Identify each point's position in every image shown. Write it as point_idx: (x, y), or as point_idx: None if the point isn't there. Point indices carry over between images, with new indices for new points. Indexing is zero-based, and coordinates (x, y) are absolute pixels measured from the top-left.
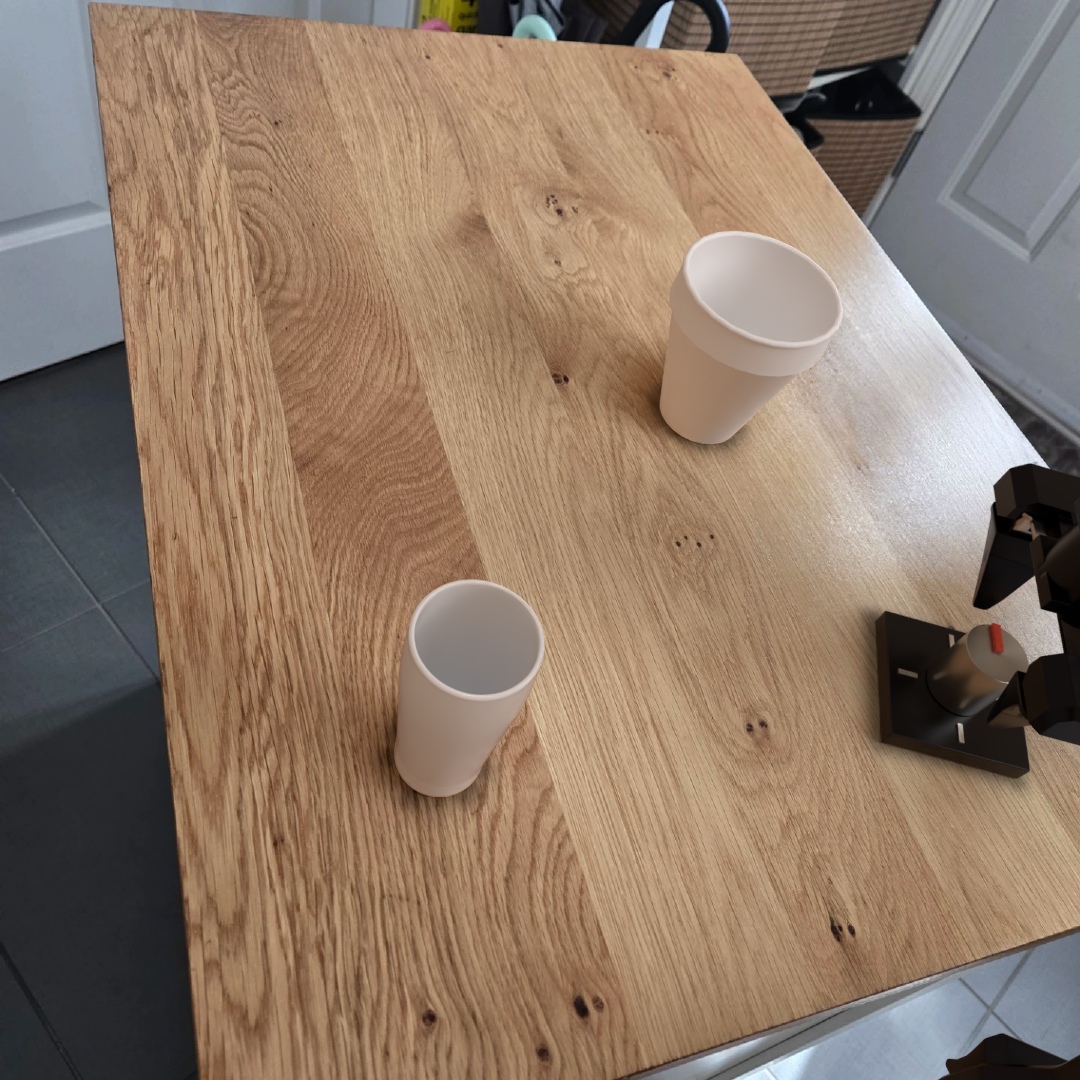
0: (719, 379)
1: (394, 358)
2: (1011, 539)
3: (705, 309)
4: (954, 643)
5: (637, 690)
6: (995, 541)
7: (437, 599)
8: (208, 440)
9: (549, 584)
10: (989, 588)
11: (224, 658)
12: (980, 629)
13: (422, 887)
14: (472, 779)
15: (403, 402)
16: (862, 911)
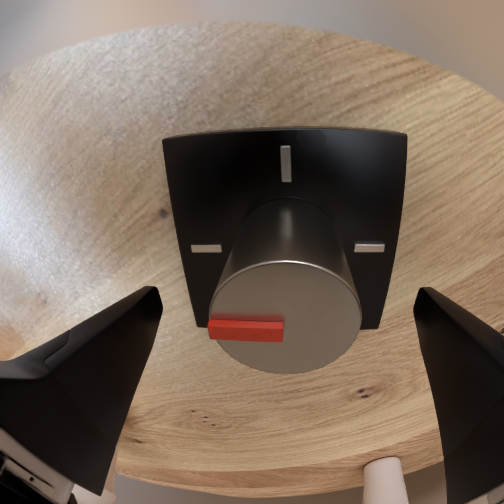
0: (112, 475)
1: (181, 472)
2: (84, 479)
3: None
4: (203, 241)
5: (341, 435)
6: (104, 476)
7: None
8: (256, 493)
9: (279, 458)
10: (138, 354)
11: (343, 486)
12: (234, 350)
13: (430, 449)
14: (397, 465)
15: (201, 474)
16: (500, 316)
